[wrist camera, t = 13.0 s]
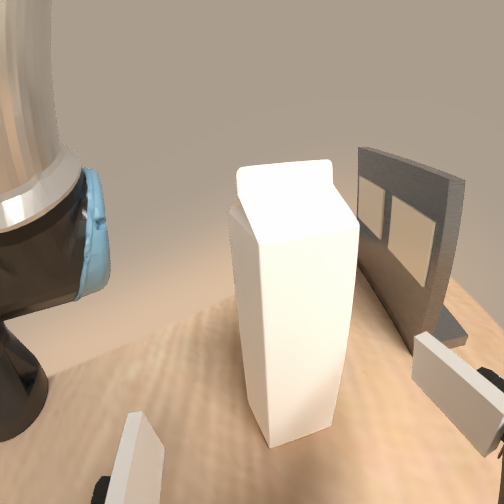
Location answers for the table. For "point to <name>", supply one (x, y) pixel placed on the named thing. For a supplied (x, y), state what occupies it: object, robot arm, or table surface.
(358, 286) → the table surface
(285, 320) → the milk
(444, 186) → the label panel
